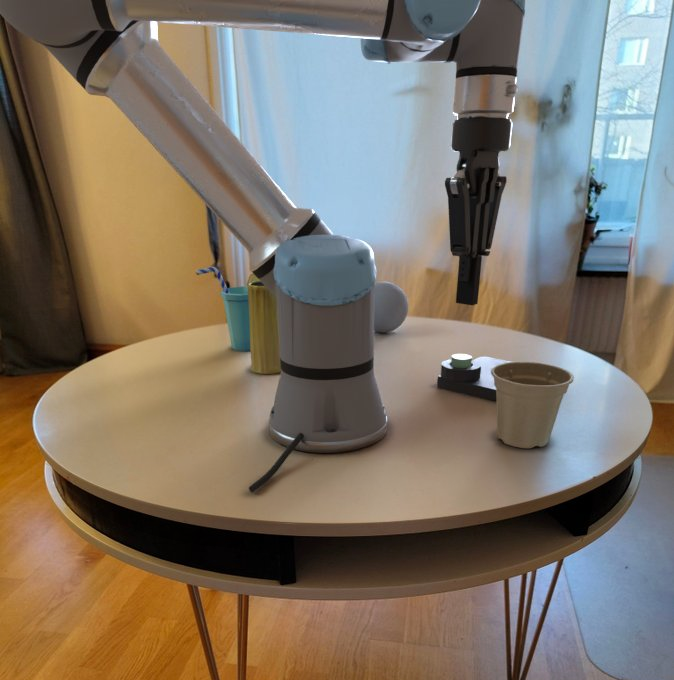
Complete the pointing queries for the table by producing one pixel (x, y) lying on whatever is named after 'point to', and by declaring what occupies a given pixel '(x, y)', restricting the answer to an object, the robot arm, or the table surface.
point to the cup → (235, 310)
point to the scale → (471, 377)
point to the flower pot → (528, 401)
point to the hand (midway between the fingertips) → (466, 303)
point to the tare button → (461, 361)
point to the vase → (263, 329)
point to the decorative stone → (389, 307)
